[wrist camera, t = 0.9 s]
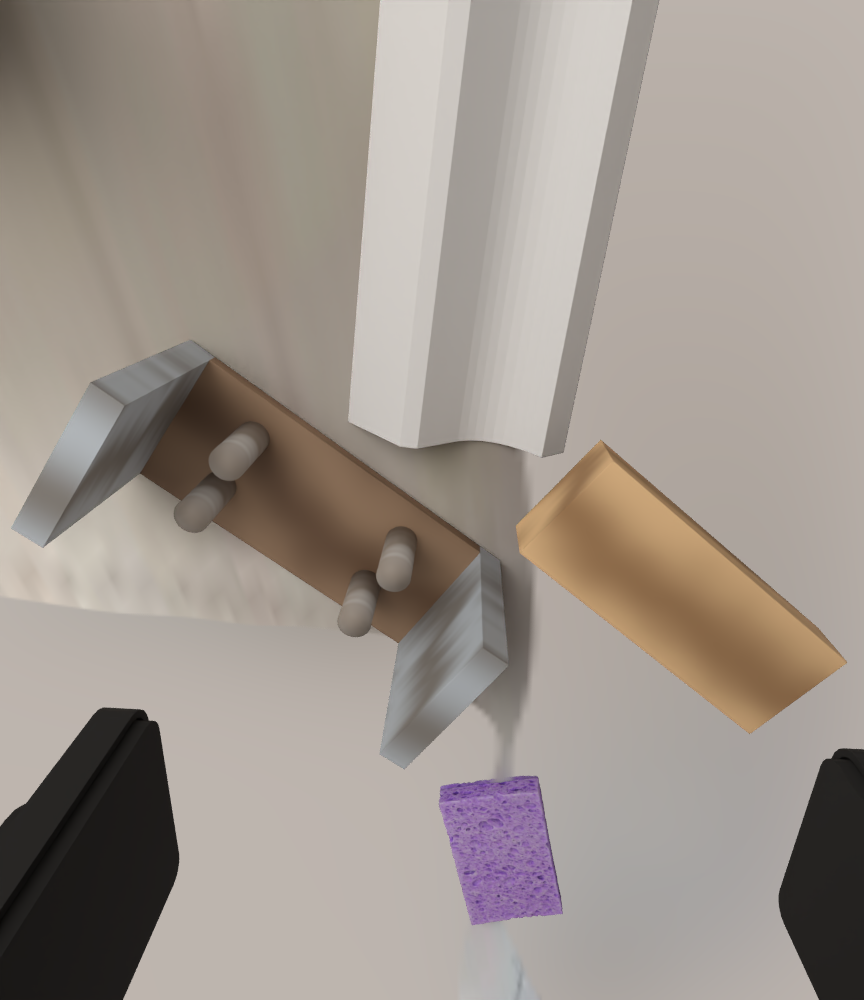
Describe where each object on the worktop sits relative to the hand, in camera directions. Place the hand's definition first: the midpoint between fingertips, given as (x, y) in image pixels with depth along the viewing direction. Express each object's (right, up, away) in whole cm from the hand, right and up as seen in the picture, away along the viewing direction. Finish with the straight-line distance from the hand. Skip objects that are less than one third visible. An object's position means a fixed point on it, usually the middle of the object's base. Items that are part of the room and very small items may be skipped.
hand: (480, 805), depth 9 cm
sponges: (+4, -21, +39) cm, 45 cm away
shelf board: (+12, 0, +25) cm, 28 cm away
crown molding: (+2, +22, +21) cm, 31 cm away
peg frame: (-7, +4, +29) cm, 30 cm away
